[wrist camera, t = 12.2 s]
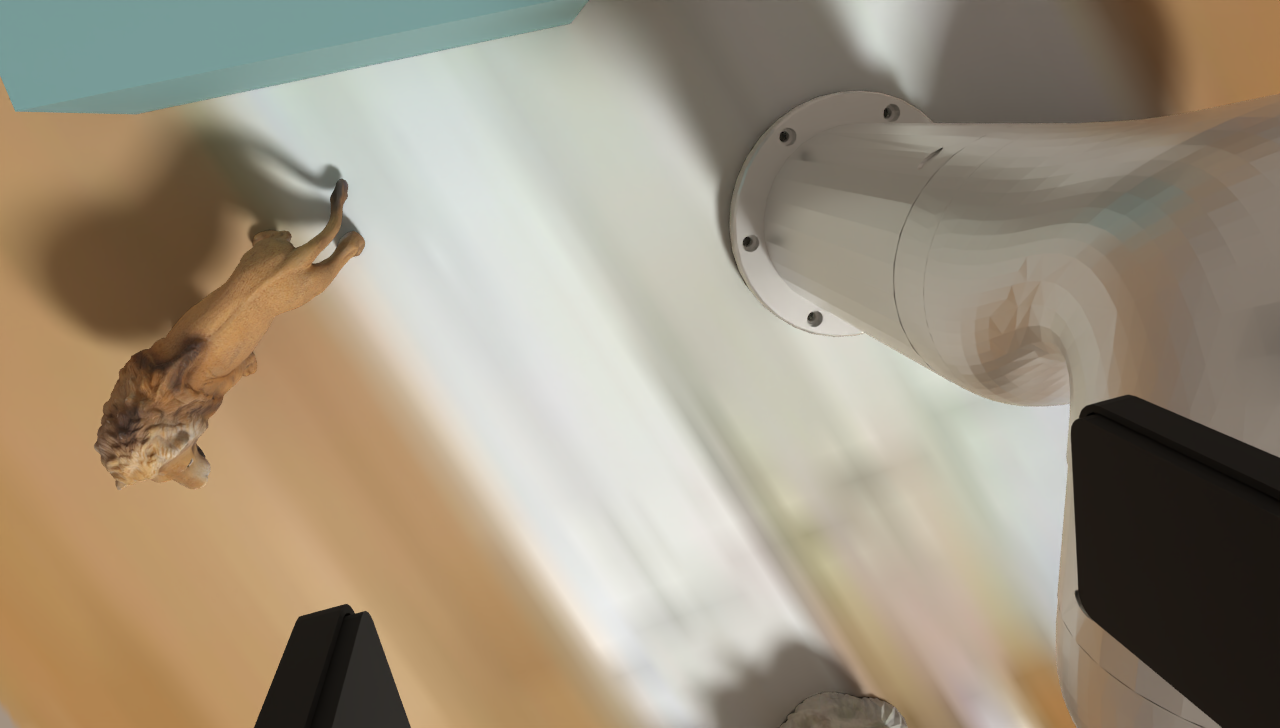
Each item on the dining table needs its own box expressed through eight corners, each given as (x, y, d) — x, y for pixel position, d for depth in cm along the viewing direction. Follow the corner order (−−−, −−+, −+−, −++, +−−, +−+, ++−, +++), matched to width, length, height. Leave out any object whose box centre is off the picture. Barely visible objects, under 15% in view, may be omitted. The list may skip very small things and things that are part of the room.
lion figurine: (235, 449, 42) (171, 532, 34) (133, 395, 41) (38, 467, 32) (392, 209, 41) (366, 233, 32) (291, 142, 39) (235, 149, 30)
